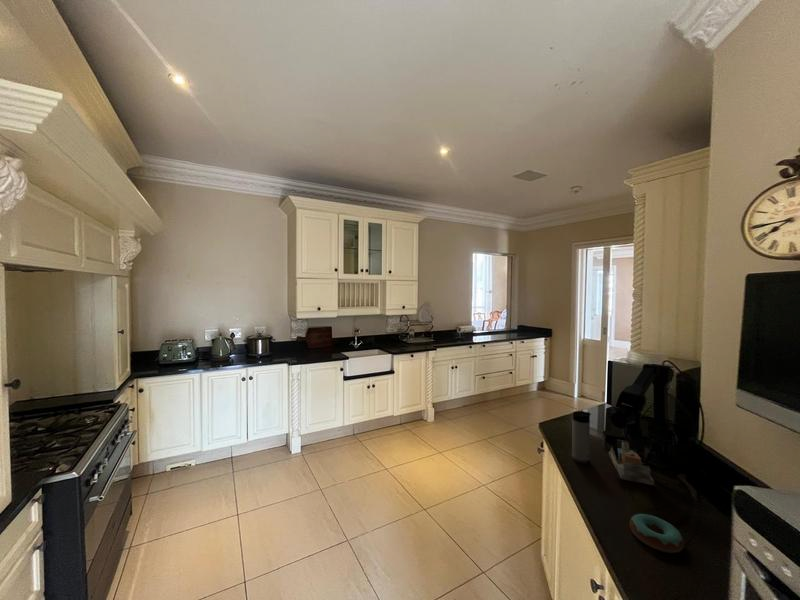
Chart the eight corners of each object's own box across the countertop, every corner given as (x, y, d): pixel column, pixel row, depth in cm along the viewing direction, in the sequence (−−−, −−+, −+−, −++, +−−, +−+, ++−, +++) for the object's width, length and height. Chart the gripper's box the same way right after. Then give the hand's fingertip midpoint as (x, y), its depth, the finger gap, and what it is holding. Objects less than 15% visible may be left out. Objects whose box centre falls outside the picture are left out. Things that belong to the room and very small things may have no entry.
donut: (636, 547, 84) (636, 533, 84) (624, 519, 95) (624, 506, 95) (692, 563, 80) (693, 548, 80) (673, 531, 91) (674, 518, 91)
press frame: (636, 459, 131) (636, 446, 131) (654, 485, 113) (654, 470, 113) (608, 454, 135) (609, 441, 135) (621, 478, 117) (621, 464, 116)
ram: (633, 457, 129) (633, 438, 129) (637, 463, 124) (637, 444, 124) (615, 454, 132) (616, 435, 132) (619, 460, 127) (619, 441, 127)
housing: (636, 465, 123) (636, 452, 123) (640, 472, 119) (641, 458, 119) (621, 462, 125) (621, 449, 125) (625, 469, 121) (625, 455, 121)
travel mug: (592, 464, 127) (593, 415, 126) (574, 462, 128) (575, 414, 128) (586, 456, 133) (587, 410, 133) (569, 454, 134) (570, 409, 134)
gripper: (608, 426, 118) (608, 467, 118) (670, 435, 111) (669, 478, 111) (602, 416, 128) (601, 453, 128) (658, 424, 121) (657, 463, 121)
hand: (631, 462), depth 122 cm, fingers open, 9 cm apart
